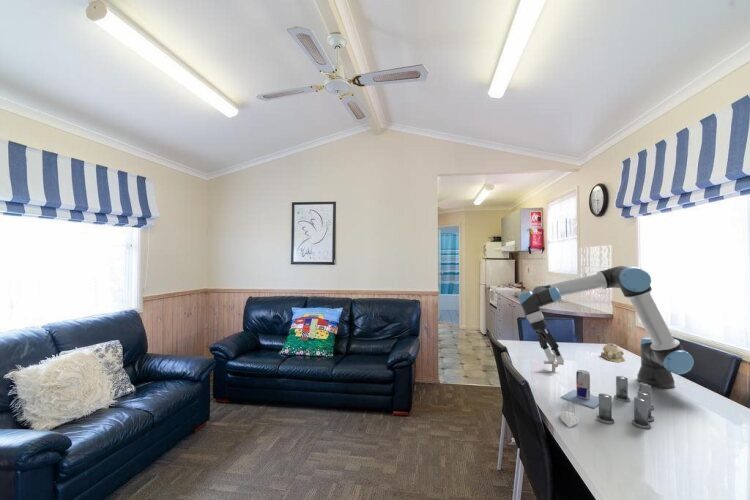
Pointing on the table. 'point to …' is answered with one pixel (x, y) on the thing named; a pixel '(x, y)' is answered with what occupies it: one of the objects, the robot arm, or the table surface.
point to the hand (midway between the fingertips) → (556, 362)
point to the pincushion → (568, 418)
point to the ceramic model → (612, 353)
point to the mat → (572, 397)
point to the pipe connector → (553, 363)
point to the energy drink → (583, 384)
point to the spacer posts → (640, 402)
